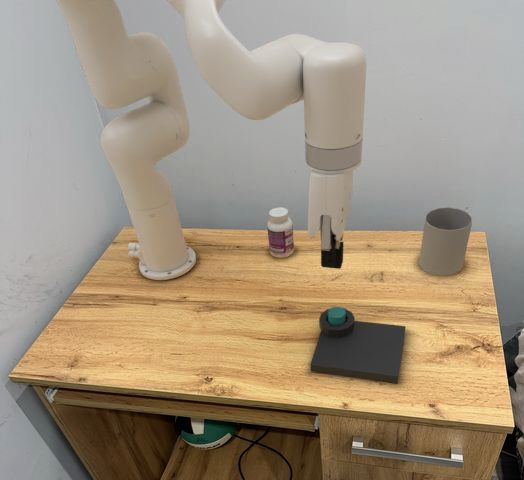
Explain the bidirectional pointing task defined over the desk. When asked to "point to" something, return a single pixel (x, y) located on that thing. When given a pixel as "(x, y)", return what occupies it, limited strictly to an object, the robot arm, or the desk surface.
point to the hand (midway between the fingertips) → (332, 264)
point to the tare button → (336, 315)
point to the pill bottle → (280, 233)
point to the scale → (359, 349)
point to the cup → (445, 241)
